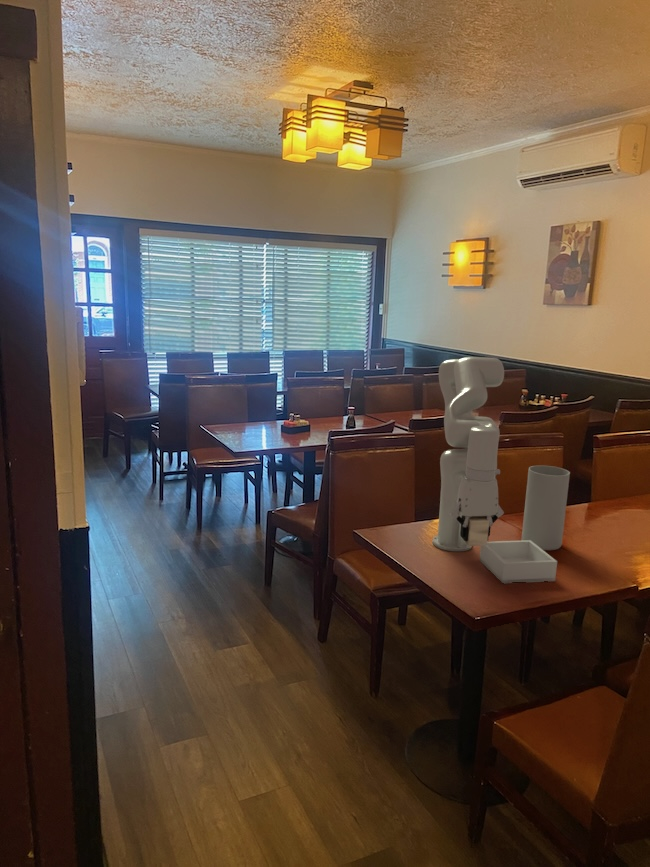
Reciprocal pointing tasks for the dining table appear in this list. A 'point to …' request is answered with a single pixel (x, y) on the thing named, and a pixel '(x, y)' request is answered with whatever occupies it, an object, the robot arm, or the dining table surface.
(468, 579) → the dining table surface
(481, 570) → the dining table surface
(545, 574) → the bin
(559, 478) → the cylinder vase
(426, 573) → the dining table surface
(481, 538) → the birch block
